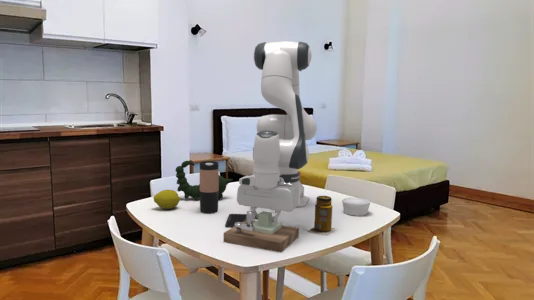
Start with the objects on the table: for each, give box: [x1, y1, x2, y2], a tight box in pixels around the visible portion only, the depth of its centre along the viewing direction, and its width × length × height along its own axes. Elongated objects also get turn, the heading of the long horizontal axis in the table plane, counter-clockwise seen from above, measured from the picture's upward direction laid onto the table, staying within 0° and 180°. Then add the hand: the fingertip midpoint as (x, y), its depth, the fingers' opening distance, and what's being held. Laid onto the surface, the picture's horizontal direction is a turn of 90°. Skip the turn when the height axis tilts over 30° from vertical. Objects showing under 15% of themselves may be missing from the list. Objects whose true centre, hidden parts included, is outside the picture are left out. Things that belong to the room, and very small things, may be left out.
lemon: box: [153, 189, 182, 210], centre depth 171 cm, size 11×8×8 cm
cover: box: [253, 210, 284, 234], centre depth 140 cm, size 9×9×5 cm
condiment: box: [307, 195, 336, 236], centre depth 147 cm, size 7×8×12 cm
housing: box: [223, 220, 300, 253], centre depth 138 cm, size 16×20×4 cm
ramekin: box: [341, 197, 371, 217], centre depth 171 cm, size 11×11×5 cm
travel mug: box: [199, 160, 220, 215], centre depth 168 cm, size 8×8×20 cm
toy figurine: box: [174, 160, 234, 201], centre depth 188 cm, size 9×19×25 cm
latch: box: [235, 210, 255, 231], centre depth 134 cm, size 7×3×6 cm, turn 54°
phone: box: [224, 213, 247, 229], centre depth 157 cm, size 8×1×15 cm
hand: (265, 220), depth 140 cm, fingers open, 5 cm apart
